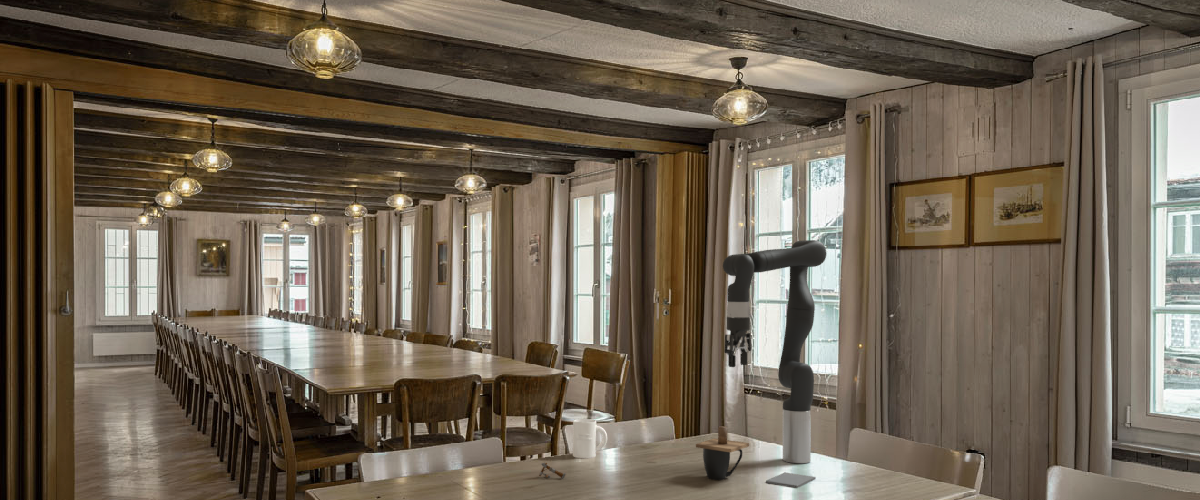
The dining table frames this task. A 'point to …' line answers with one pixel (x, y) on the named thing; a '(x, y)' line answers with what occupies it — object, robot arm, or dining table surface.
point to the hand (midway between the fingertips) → (737, 365)
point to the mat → (790, 479)
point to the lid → (722, 442)
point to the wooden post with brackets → (551, 471)
